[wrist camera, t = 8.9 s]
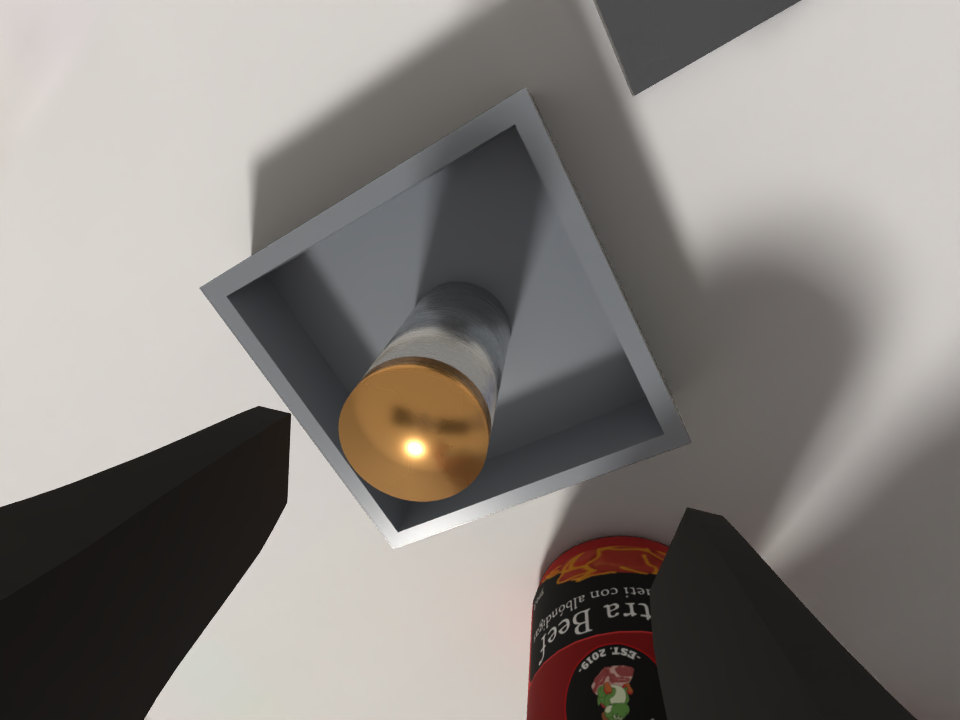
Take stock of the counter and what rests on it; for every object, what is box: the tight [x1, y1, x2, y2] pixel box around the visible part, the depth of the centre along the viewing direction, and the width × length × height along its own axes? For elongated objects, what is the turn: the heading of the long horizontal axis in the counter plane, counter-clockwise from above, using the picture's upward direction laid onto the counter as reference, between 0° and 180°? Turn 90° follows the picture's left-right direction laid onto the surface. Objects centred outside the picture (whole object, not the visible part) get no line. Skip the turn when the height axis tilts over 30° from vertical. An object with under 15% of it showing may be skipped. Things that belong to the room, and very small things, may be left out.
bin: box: [200, 87, 691, 549], centre depth 18 cm, size 11×11×3 cm
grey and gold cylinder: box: [338, 281, 510, 502], centre depth 15 cm, size 3×3×7 cm
